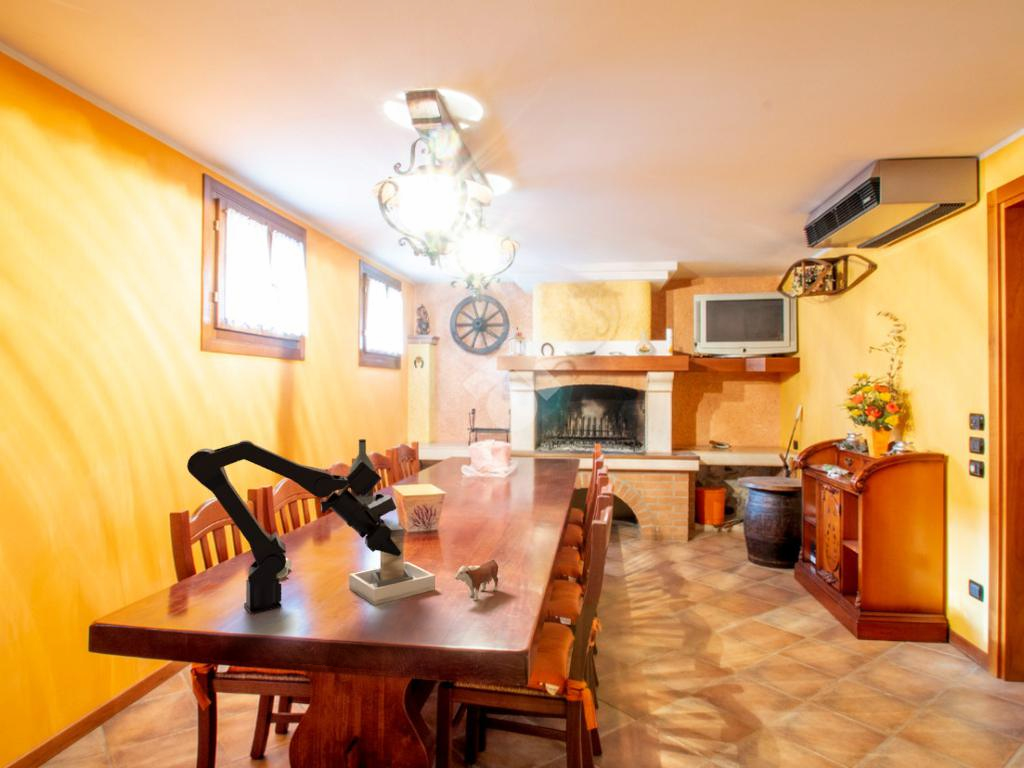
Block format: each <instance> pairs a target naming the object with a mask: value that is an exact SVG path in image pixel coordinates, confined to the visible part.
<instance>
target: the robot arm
mask: <svg viewBox="0 0 1024 768" xmlns="http://www.w3.org/2000/svg"><path fill="white" fill-rule="evenodd" d="M243 460H244V461H247V462H250V463H252V464H254V465H256V466H259V467H261V468H264V469H266V470H268V471H271V472H273V473H275V474H277V475H280V476H282V477H284V478H286V479H289V480H290V481H293V482H294V483H296V484H297V485H299V486H300V487H301V488H303V489H304V490H306V492H309V494H312V495H313V496H315V497H316V498H320V501H319V502H320V511H321V514H325V513H326V512H327V511H328V510H329V509H331V510H332V512H333V513H335V514H336V515H337V516H338V517H340V519H342V520H343V521H344V522H345V524H346V525H347V526H348V527H349V528H351V529H353V530H354V531H355V532H356V533H358V535H359V536H360V537H361V538H362V539H364V544H365V546H366V547H367V548H368V549H369V550H370V551H371V552H373V553H374V552H375V551H377V552H378V551H379V552H380V551H381V552H385V553H389V554H392V555H395V556H399V555H400V554H401V552H400V550H399V549H398V547H397V546H396V545H395V543H394V542H393V541H392V539H391V538H390V535H391V533H392V530H391V529H390V528H389V527H388V526H389V525H387V524H386V523H385V520H383V519H382V518H381V517H382V516H384V515H386V514H389V513H390V512H394V511H395V510H396V509H397V507H398V506H396V503H395V501H394V499H393V497H392V495H390V494H387V493H386V494H385V495H383V494H382V493H380V492H378V493H376V494H373V497H374V502H372V503H371V504H369V505H368V506H367V505H366V504H365V503H362V502H361V501H359V500H358V499H357V498H356V497H355V496H354V495H353V494H352V493H351V489H352V490H353V491H354V492H355V493H356V494H357V495H358V496H360V495H362V496H363V495H365V496H366V495H367V494H368V493H369V492H370V491H371V490H372V489H373V488H374V489H375V487H376V486H377V485H378V484H379V483H380V482H381V480H382V479H383V478H382V477H381V476H380V475H379V474H378V473H377V472H376V471H375V469H374V470H373V469H371V468H369V467H368V466H367V465H366V464H365V463H364V462H363V461H360V462H359V463H358V464H357V465H356V467H355V468H354V469H353V470H352V471H351V472H350V471H349V473H348V474H347V475H342V474H340V475H339V474H332V473H331V472H329V471H328V470H326V469H322V468H318V467H315V466H309V465H305V464H300V463H297V462H295V461H293V460H290V459H289V458H286V457H284V456H282V455H280V454H277V453H274V452H272V451H270V450H269V449H265V448H264V447H261V446H259V445H257V444H255V443H254V442H252V441H251V440H247V439H245V440H241V441H239V442H237V443H233V444H230V445H227V446H223V447H220V448H216V449H211V448H207V447H206V448H201V449H199V450H197V451H196V452H194V453H193V454H192V455H191V456H190V457H189V459H188V460H187V464H186V467H187V470H188V473H189V474H190V475H191V476H192V477H194V479H195V480H197V481H198V482H199V483H200V484H201V485H202V486H203V487H205V488H206V489H207V490H209V491H210V492H211V493H212V494H213V495H214V497H215V498H216V499H217V501H218V502H219V503H220V505H221V507H222V508H223V509H224V510H225V512H226V514H227V515H228V516H229V517H230V519H231V520H232V522H233V523H234V524H235V526H236V527H237V529H238V530H239V532H240V533H241V535H242V536H243V537H244V539H245V540H246V541H247V543H248V544H249V548H250V550H251V552H252V553H251V554H252V555H253V559H254V562H252V564H250V565H249V567H248V575H247V579H246V580H245V581H246V586H245V588H246V590H245V594H246V595H245V596H246V597H245V599H246V600H245V602H244V604H243V606H244V607H245V608H246V609H247V610H248V612H249V613H250V614H256V613H261V612H265V611H268V610H273V609H277V608H281V607H282V603H281V602H282V583H281V582H280V578H279V577H278V576H277V574H278V573H280V572H281V571H282V570H283V569H284V567H285V564H286V558H287V555H286V553H287V546H286V543H284V542H283V541H282V540H281V539H280V537H279V535H278V533H277V531H274V532H273V533H272V534H270V533H269V532H267V531H266V530H265V529H264V528H263V527H262V525H261V524H260V522H259V521H258V520H257V518H256V517H255V515H254V514H253V512H252V511H251V509H249V507H248V505H247V504H246V502H245V501H244V499H243V498H242V497H241V495H240V494H239V492H238V491H237V490H236V489H235V487H234V485H233V484H232V483H231V482H230V479H229V477H228V474H227V470H226V469H225V467H226V466H230V465H232V464H235V463H237V462H240V461H243ZM349 489H350V490H349ZM374 489H373V490H374ZM336 491H337V492H336ZM326 497H327V498H326ZM324 498H326V499H324Z"/></svg>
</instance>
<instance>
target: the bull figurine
mask: <svg viewBox="0 0 1024 768" xmlns="http://www.w3.org/2000/svg"><path fill="white" fill-rule="evenodd" d="M498 572H499V565H498V563H497V562H496V560H494V559H491V560H489V561H486V562H483V563H481V564H479V565H469V566H468V567H467V566H466V565H462V566H461V567H460V568H459V569H458V571H457V573H456V575H454V580H456V581H459V580H460V581H461V582H463V583H464V582H465V584H466V585H467V586H468V588H469V589H470V595H469V598H473V597H474V598H473V601H474V602H478V600H479V593H480V592H484V591H485V590H487V589H486V588H487V584H488V585H489V584H490V582H492V581H493V582H494V588H493V592H497V591H498V590H499V587H498V584H499V583H498V582H499V577H498ZM481 585H482V587H481ZM474 589H475V590H474Z"/></svg>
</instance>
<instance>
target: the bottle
mask: <svg viewBox="0 0 1024 768" xmlns="http://www.w3.org/2000/svg"><path fill="white" fill-rule="evenodd" d="M366 443H367V439H365V438H364V439H363V438H362V439H360V438H359V439H358V454H357V456H356V457H355V459H354V461H353V462H352V464H351V465H350V469H349V470H350V471H349V473H350V472H351V471H352V470H353V469H354V468H355V467H356V465H357V464H358V463H359V462H360V461H363V462H364V463H365V464H366V465H367V466H368V467H369V468H371V469H373V470H374V471H375V467H374V464H373V462H372V460H371V459H370V458H369V456H368V454H367V444H366ZM374 489H375V487H374V488H373V489H372V490H371V491H370V492H369V493H368V494H367V495H366V496H365V495H363V496H362V495H360V496H358V495H357V494H356V493H355V492H354V491H353V490H352V489H351V488H350V492H351V493H352V494H353V495H354V496H355V497H356V498H357V499H358V500H359V501H361V502H362V503H365V504H366V505H367V506H368V505H369V504H371V503H372V502H374Z"/></svg>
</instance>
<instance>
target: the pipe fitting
mask: <svg viewBox="0 0 1024 768" xmlns="http://www.w3.org/2000/svg"><path fill="white" fill-rule="evenodd" d="M292 565H293V564H292V561H291V559H290V558H287V557H286V564H285V567H284V569H283V570H282V571H281V572H280V573H278V574H277V576H278V577H279V579H283V578H284V577H286V576H287V575H288V573H289V570H290V569H291V568H292Z"/></svg>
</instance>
